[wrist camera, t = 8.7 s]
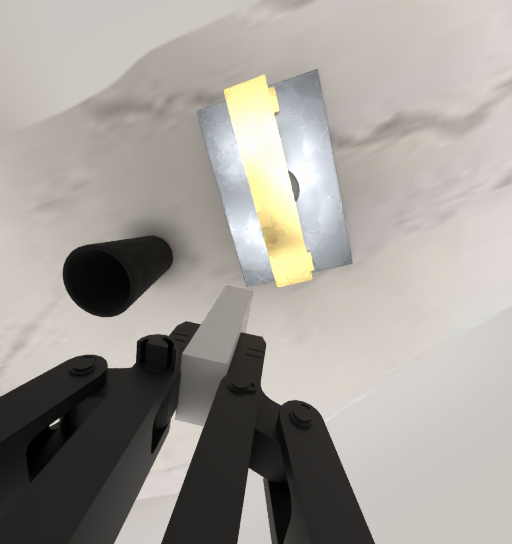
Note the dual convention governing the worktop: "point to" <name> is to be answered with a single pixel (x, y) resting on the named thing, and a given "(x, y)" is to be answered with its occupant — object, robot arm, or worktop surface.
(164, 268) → the cup
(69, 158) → the worktop surface
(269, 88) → the plate
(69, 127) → the worktop surface
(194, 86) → the worktop surface
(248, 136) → the flat gold bar
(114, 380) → the robot arm
